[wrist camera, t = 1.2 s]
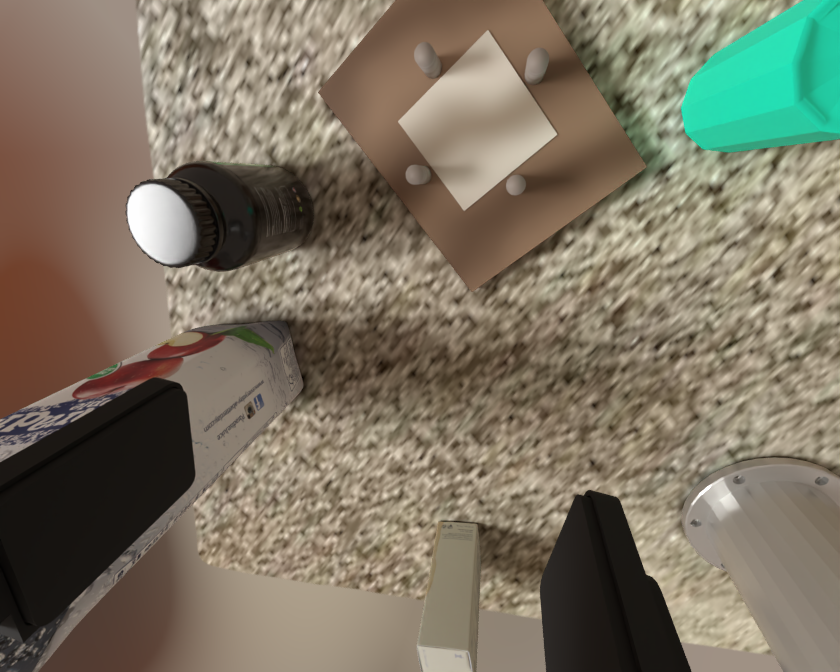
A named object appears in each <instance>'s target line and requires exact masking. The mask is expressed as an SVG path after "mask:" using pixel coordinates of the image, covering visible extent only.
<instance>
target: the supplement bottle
mask: <svg viewBox="0 0 840 672" xmlns="http://www.w3.org/2000/svg"><path fill="white" fill-rule="evenodd" d="M126 216H127V223H128V225H129V230H130V232H131V234H132V237H133V239H134V240H135V241H136V243H137V245H138V246H139V247H140V248H141V250H142V251H143V252H144V253H145V254H147V256H148V257H149V258H150V259H153V260H154V261H155V262H156V263H160V264H161V265H163V266H168V267H170V268H173V267H176V268H181V267H185V266H190V265H197V266H199V267H201V268H204V269H207V270H211V271H218V272H225V271H231V270H234V269H238V268H241V267H244V266H247V265H250V264H253V263H256V262H259V261H262V260H265V259H268V258H271V257H274V256H277V255H280V254H283V253H286V252H289V251H291V250H294V249H295V248H297V247H299V246H300V245H301V244H302V243H303V242H304V241H305V240H306V239H307V237H308V236H309V234H310V232H311V229H312V225H313V219H314V213H313V205H312V201H311V198H310V196H309V193H308V192H307V190H306V188H305V186H304V185H303V184H302V182H301V181H300V180H299V179H298V178H297V177H296V176H295V175H293V174H292V173H291V172H289V171H287V170H285V169H283V168H281V167H277V166H272V165H261V164H244V163H227V162H210V161H196V162H189V163H186V164H183V165H181V166H179V167H178V168H176V169H175V170H173V171H172V172H171V173H170V174H169V176H168V177H167V178H165V179H149V180H147V181H143V182H141V183H140V184H139V185H136V186H135V187H134V190H131V192H130V195H129V196H128V199H127V203H126Z"/></svg>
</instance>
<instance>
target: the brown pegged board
mask: <svg viewBox="0 0 840 672" xmlns="http://www.w3.org/2000/svg"><path fill="white" fill-rule="evenodd" d="M318 93H319V94H320V95H321V97H322V98H323V99H324V101H325V102H326V103H327V105H328V106H329V107H330V108H331V110H332V111H333V112H334V114H335V115H336V116H337V118H338V119H339V120H340V121H341V123H342V124H343V125H344V127H345V128H346V129H347V131H348V132H349V133H350V134H351V136H352V137H353V138H354V140H355V141H356V142H357V144H358V145H359V146H360V147H361V149H362V150H363V151H364V153H365V154H366V155H367V157H368V158H369V159H370V160H371V162H372V163H373V164H374V166H375V167H376V168H377V170H378V171H379V172H380V173H381V175H382V176H383V177H384V179H385V180H386V181H387V183H388V184H389V185H390V186H391V188H392V189H393V190H394V192H395V193H396V194H397V196H398V197H399V198H400V199H401V201H402V202H403V203H404V205H405V206H406V207H407V209H408V210H409V211H410V212H411V214H412V215H413V216H414V218H415V219H416V220H417V221H418V223H419V224H420V225H421V227H422V228H423V229H424V231H425V232H426V233H427V234H428V236H429V237H430V238H431V240H432V241H433V242H434V244H435V245H436V246H437V247H438V249H439V250H440V251H441V253H442V254H443V255H444V257H445V258H446V259H447V260H448V262H449V263H450V264H451V266H452V267H453V268H454V270H455V271H456V272H457V273H458V275H459V276H460V277H461V279H462V280H463V281H464V283H465V284H466V285H467V286H468V288H469V289H470V290H471V292H473V291H474V290H476V289H477V288H478V287H480V286H481V285H483V284H484V283H485V282H487V281H488V280H490V279H491V278H492V277H494V276H495V275H497V274H498V273H499V272H501V271H502V270H504V269H505V268H506V267H508V266H509V265H511V264H512V263H513V262H515V261H516V260H518V259H519V258H520V257H522V256H523V255H525V254H526V253H527V252H529V251H530V250H532V249H533V248H534V247H536V246H537V245H539V244H540V243H541V242H543V241H544V240H546V239H547V238H548V237H550V236H551V235H553V234H554V233H555V232H557V231H558V230H560V229H561V228H562V227H564V226H565V225H567V224H568V223H569V222H571V221H572V220H574V219H575V218H576V217H578V216H579V215H581V214H582V213H583V212H585V211H586V210H588V209H589V208H590V207H592V206H593V205H595V204H596V203H597V202H599V201H600V200H602V199H603V198H604V197H606V196H607V195H609V194H610V193H611V192H613V191H614V190H616V189H617V188H618V187H620V186H621V185H623V184H624V183H625V182H627V181H628V180H630V179H631V178H632V177H634V176H635V175H636V174H638V173H639V172H641V171H642V170H643V169H645V168H646V167H647V166H646V165H645V163H644V161H643V160H642V158H641V157H640V155H639V153H638V152H637V150H636V149H635V147H634V145H633V144H632V142H631V141H630V139H629V137H628V136H627V134H626V133H625V131H624V129H623V128H622V126H621V125H620V123H619V122H618V120H617V118H616V117H615V115H614V114H613V112H612V110H611V109H610V107H609V106H608V104H607V102H606V101H605V99H604V98H603V96H602V94H601V93H600V91H599V90H598V88H597V86H596V85H595V83H594V82H593V80H592V78H591V77H590V75H589V74H588V72H587V71H586V69H585V67H584V66H583V64H582V63H581V61H580V59H579V58H578V56H577V55H576V53H575V51H574V50H573V48H572V47H571V45H570V43H569V42H568V40H567V39H566V37H565V35H564V34H563V32H562V31H561V29H560V27H559V26H558V24H557V23H556V21H555V20H554V18H553V16H552V15H551V13H550V12H549V10H548V8H547V7H546V5H545V4H544V2H543V0H395V2H394V3H393V4H392V5H391V6H390V8H389V9H388V10H387V11H386V12H385V14H384V15H383V16H382V17H381V18H380V19H379V21H378V22H377V23H376V24H375V25H374V27H373V28H372V29H371V30H370V31H369V32H368V34H367V35H366V36H365V37H364V38H363V40H362V41H361V42H360V43H359V44H358V46H357V47H356V48H355V49H354V50H353V51H352V53H351V54H350V55H349V56H348V57H347V59H346V60H345V61H344V62H343V63H342V64H341V66H340V67H339V68H338V69H337V70H336V72H335V73H334V74H333V75H332V76H331V77H330V79H329V80H328V81H327V82H326V83H325V85H324V86H323V87H322V88H321V89H320V91H319V92H318Z"/></svg>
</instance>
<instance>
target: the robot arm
mask: <svg viewBox="0 0 840 672" xmlns="http://www.w3.org/2000/svg"><path fill="white" fill-rule="evenodd" d="M195 475H196V472H195V463H194V454H193V445H192V435H191V426H190V417H189V408H188V399H187V394H186V392H185V391H184V390H183V387H182V385H181V384H180V383H177V382H174V381H170V380H166V379H162V378H158V377H153V378H151V379H148V380H147V381H145V382H143V383H141V384H139V385H138V386H136V387H134V388H132V389H130V390H129V391H127V392H125V393H123V394H121V395H120V396H118V397H116V398H114V399H112V400H111V401H109V402H107V403H105V404H104V405H102V406H100V407H98V408H96V409H95V410H93V411H91V412H89V413H87V414H86V415H84V416H82V417H80V418H78V419H77V420H75V421H73V422H71V423H69V424H68V425H66V426H64V427H62V428H60V429H59V430H57V431H55V432H53V433H52V434H50V435H48V436H46V437H44V438H43V439H41V440H39V441H37V442H35V443H34V444H32V445H30V446H28V447H26V448H25V449H23V450H21V451H19V452H17V453H16V454H14V455H12V456H10V457H8V458H7V459H5V460H3V461H1V462H0V634H2V635H4V636H7V637H10V638H12V639H15V640H17V641H20V642H23V643H24V642H25V641H26V640H27V639H28V638H29V637H30V636H31V635H32V634H33V633H34V632H35V631H37V630H38V629H39V628H40V627H42V626H45V625H47V624H49V623H51V622H52V621H53V620H54V619H56V618H57V617H58V616H59V615H60V614H61V613H62V612H63V611H64V610H65V609H66V608H67V607H68V606H69V605H70V604H71V603H72V602H73V601H74V600H75V599H76V598H77V597H79V596H80V595H81V594H82V593H83V592H84V591H85V590H86V589H87V588H88V587H89V586H90V585H91V584H92V583H93V582H94V581H95V580H96V579H97V578H98V577H99V576H100V575H101V574H102V573H103V572H104V571H105V570H106V569H107V568H108V567H109V566H110V565H111V564H112V563H113V562H114V561H116V560H117V559H118V558H119V557H120V556H121V555H122V554H123V553H124V552H125V551H126V550H127V549H128V548H129V547H130V546H131V545H132V544H133V543H134V542H135V541H136V540H137V539H138V538H139V537H140V536H141V535H142V534H143V533H144V532H145V531H146V530H147V529H148V528H149V527H150V526H151V525H153V524H154V523H155V522H156V521H157V520H158V519H159V518H160V517H161V516H162V515H163V514H164V513H165V512H166V511H167V510H168V509H169V508H170V507H171V506H172V505H173V504H174V503H175V502H176V501H177V500H178V499H179V498H180V497H181V496H182V495H183V494H184V493H185V492H186V491H187V490H188V489H189V488H190V487H191V486H192V484H193V482H194V480H195ZM682 526H683V529H684V533H685V535H686V537H687V538H688V541H689V543H690V545H691V546H692V547H693V549H694V550H695V551H696V553H697V554H698V555H700V556H701V557H702V558H703V559H704V560H705V561H707V562H708V563H710V564H712V565H714V566H715V567H717V568H719V569H722V570H724V571H727V572H728V574H729V576H730V578H731V579H732V581H733V583H734V585H735V586H736V588H737V590H738V592H739V594H740V595H741V597H742V599H743V601H744V602H745V604H746V606H747V608H748V610H749V611H750V613H751V615H752V617H753V619H754V620H755V622H756V624H757V626H758V627H759V629H760V631H761V633H762V635H763V636H764V638H765V640H766V642H767V643H768V645H769V647H770V649H771V651H772V652H773V654H774V656H775V658H776V659H777V661H778V663H779V665H780V667H781V668H782V670H783V672H840V477H839V476H838V475H836V474H834V473H833V472H831V471H829V470H828V469H826V468H824V467H822V466H819V465H816V464H814V463H811V462H807V461H802V460H798V459H793V458H777V457H773V458H758V459H753V460H748V461H743V462H739V463H736V464H733V465H730V466H727V467H724V468H722V469H720V470H719V471H717V472H715V473H713V474H711V475H709V476H708V477H707V478H705V479H704V480H703V481H701V482H700V483H699V484H698V485H697V486H696V487H695V488H694V489H693V490H692V491H691V493H690V494H689V496H688V498H687V499H686V501H685V503H684V507H683V510H682ZM540 599H541V612H542V624H543V637H544V649H545V662H546V672H691V669H690V666H689V664H688V661H687V658H686V656H685V653H684V650H683V648H682V645H681V642H680V640H679V637H678V634H677V632H676V629H675V626H674V624H673V621H672V618H671V616H670V613H669V610H668V608H667V605H666V602H665V600H664V597H663V594H662V592H661V590H660V588H659V585H658V583H657V582H656V581H655V580H654V579H653V578H652V577H651V576H648V575H646V574H645V571H644V568H643V565H642V562H641V559H640V557H639V554H638V551H637V548H636V545H635V542H634V539H633V537H632V534H631V531H630V528H629V525H628V522H627V519H626V517H625V514H624V511H623V508H622V505H621V503H620V501H619V499H618V498H617V497H614V496H610V495H607V494H603V493H599V492H595V491H591V490H588V491H587V492H586V493H585V495H584V496H583V495H577V496H576V497H575V499H574V501H573V503H572V506H571V508H570V511H569V513H568V515H567V518H566V520H565V523H564V525H563V527H562V530H561V532H560V535H559V537H558V539H557V542H556V544H555V547H554V549H553V551H552V554H551V556H550V559H549V561H548V563H547V566H546V568H545V571H544V573H543V576H542V579H541V585H540Z"/></svg>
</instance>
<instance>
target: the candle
mask: <svg viewBox="0 0 840 672" xmlns="http://www.w3.org/2000/svg"><path fill="white" fill-rule="evenodd" d="M681 111H682V116H683V122H684V127H685V133H686V134H687V135H688V136H689V137H690V138H691V139H692V140H693V141H694V142H696V143H697V144H698V145H699V146H700V147H701V148H702V149H704V150H712V151H720V152H738V151H746V150H754V149H762V148H771V147H779V146H787V145H795V144H804V143H812V142H820V141H828V140H836V139H840V0H803V1H801V2H800V3H798V4H796V5H795V6H793V7H791V8H790V9H788V10H786V11H785V12H783V13H781V14H780V15H778V16H776V17H775V18H773V19H771V20H770V21H768V22H767V23H765V24H763V25H762V26H760V27H758V28H757V29H755V30H753V31H752V32H750V33H748V34H747V35H745V36H743V37H742V38H740V39H738V40H737V41H735V42H733V43H732V44H730V45H728V46H727V47H725V48H724V49H722V50H720V51H719V52H717V53H715V54H714V55H713V56H712V57H711V58H710V59H709V60H708V61H707V62H706V63H705V65H704V66H703V67H702V68H701V69H700V70H699V71H698V72H697V73H696V74H695V75H694V77H693V78H692V79H691V81H690V84H689V86H688V89H687V92H686V95H685V98H684V101H683V104H682V107H681Z"/></svg>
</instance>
